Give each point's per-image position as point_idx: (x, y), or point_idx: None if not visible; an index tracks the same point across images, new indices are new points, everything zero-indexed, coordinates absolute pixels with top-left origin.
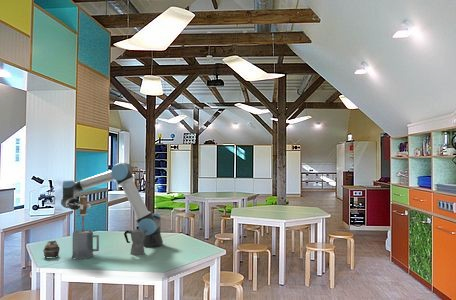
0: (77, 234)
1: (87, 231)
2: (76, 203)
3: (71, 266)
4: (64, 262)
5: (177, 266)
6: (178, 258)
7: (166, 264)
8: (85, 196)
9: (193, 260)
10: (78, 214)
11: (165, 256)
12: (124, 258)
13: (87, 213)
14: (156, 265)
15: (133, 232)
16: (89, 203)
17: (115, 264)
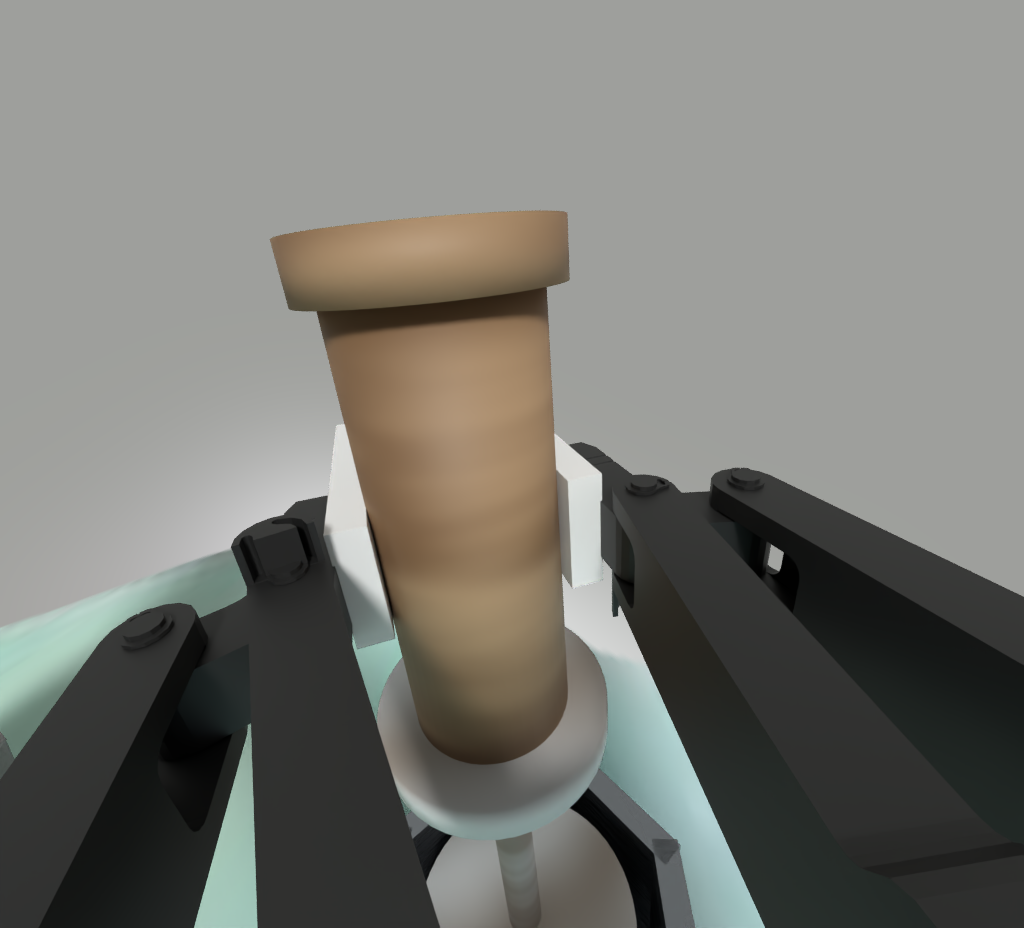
0: (598, 774)
1: (451, 908)
2: (857, 856)
3: (612, 694)
4: (695, 830)
5: (192, 565)
6: (47, 663)
7: (195, 595)
8: (301, 234)
9: (54, 614)
10: (592, 656)
11: (30, 729)
12: (250, 777)
13: (388, 703)
14: (237, 593)
15: (3, 737)
16: (160, 614)
17: (374, 657)
